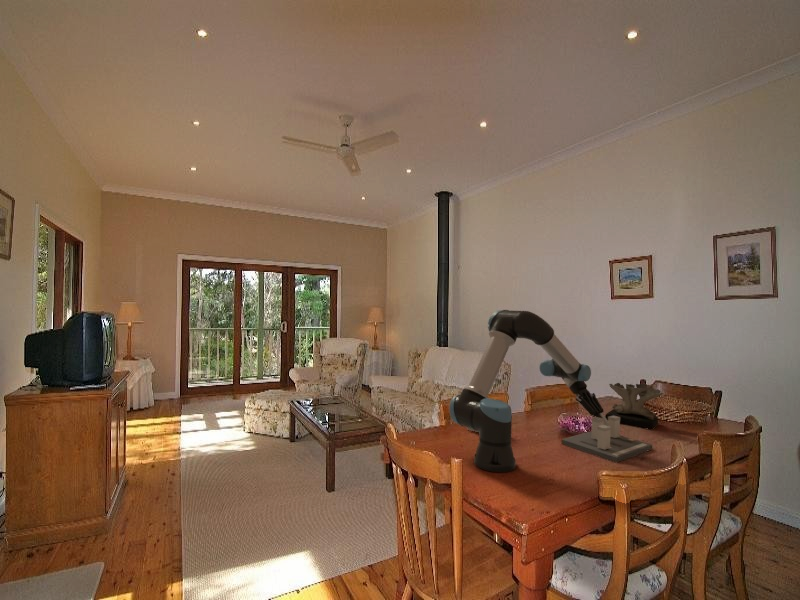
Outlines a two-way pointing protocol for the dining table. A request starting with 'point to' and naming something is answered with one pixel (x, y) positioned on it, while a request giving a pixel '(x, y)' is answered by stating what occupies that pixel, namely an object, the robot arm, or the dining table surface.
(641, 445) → the switch panel
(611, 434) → the far lever
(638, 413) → the coral
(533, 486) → the dining table surface
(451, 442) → the dining table surface
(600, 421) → the middle lever
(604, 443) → the near lever
